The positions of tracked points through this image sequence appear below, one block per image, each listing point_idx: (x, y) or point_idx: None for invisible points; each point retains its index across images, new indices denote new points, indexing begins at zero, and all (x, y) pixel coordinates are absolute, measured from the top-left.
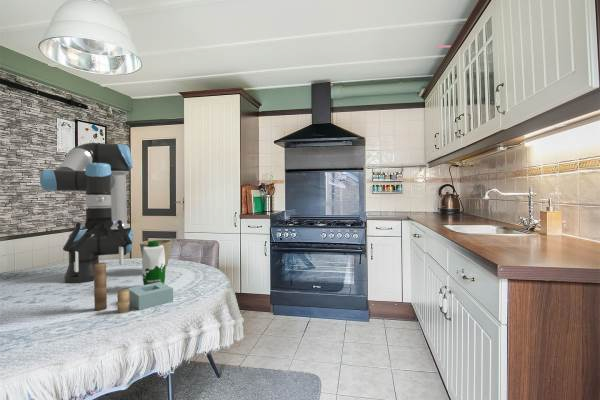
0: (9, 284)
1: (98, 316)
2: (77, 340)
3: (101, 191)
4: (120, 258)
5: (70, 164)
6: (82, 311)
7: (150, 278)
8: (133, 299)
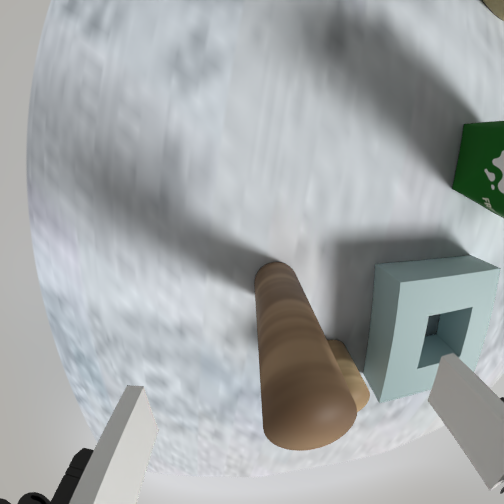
0: None
1: (253, 353)
2: (192, 448)
3: None
4: (456, 413)
5: None
6: (214, 262)
7: (500, 211)
8: (378, 339)
